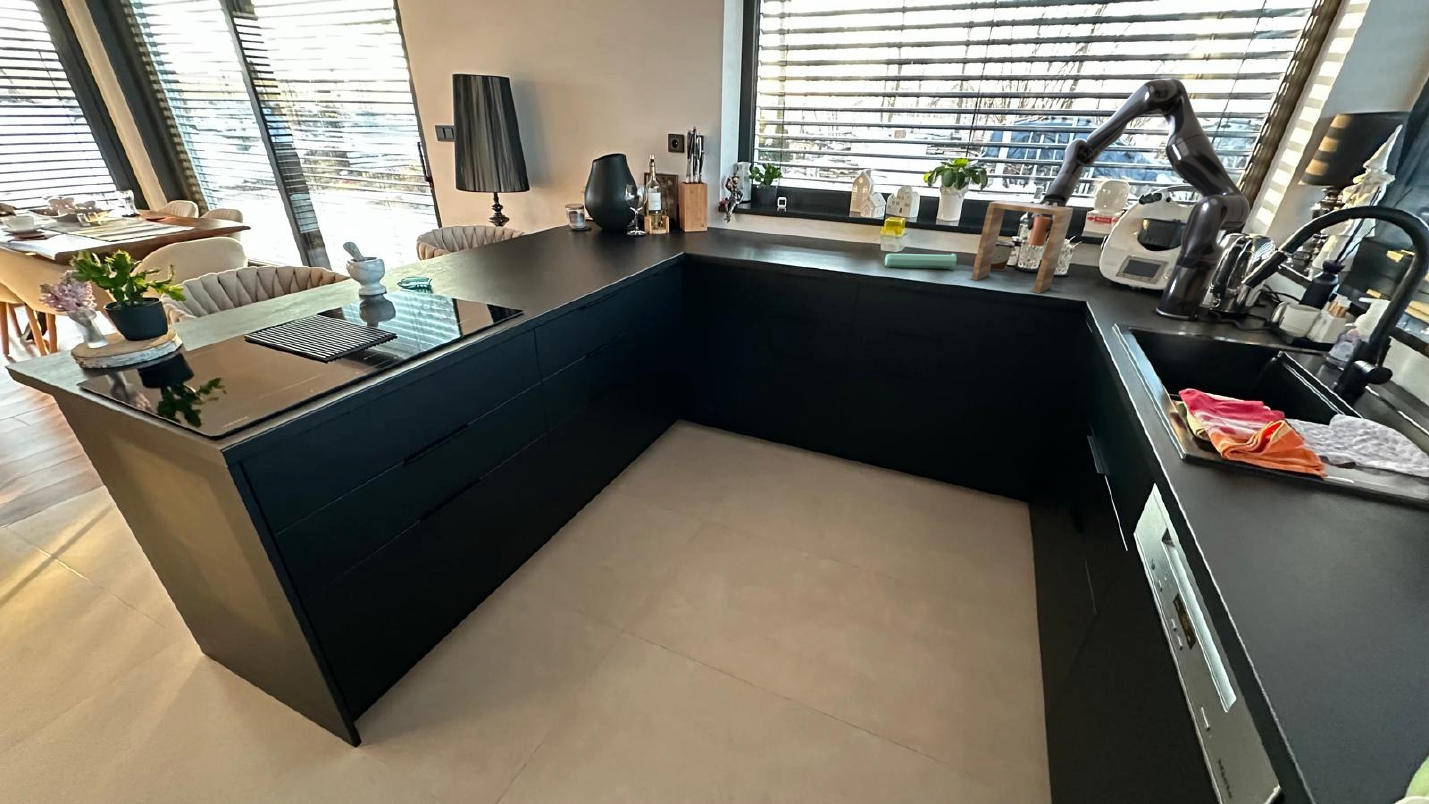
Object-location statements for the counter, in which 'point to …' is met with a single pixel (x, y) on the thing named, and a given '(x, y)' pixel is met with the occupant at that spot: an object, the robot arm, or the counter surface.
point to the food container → (1002, 255)
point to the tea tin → (1039, 231)
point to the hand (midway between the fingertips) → (1038, 229)
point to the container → (921, 261)
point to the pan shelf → (1052, 247)
